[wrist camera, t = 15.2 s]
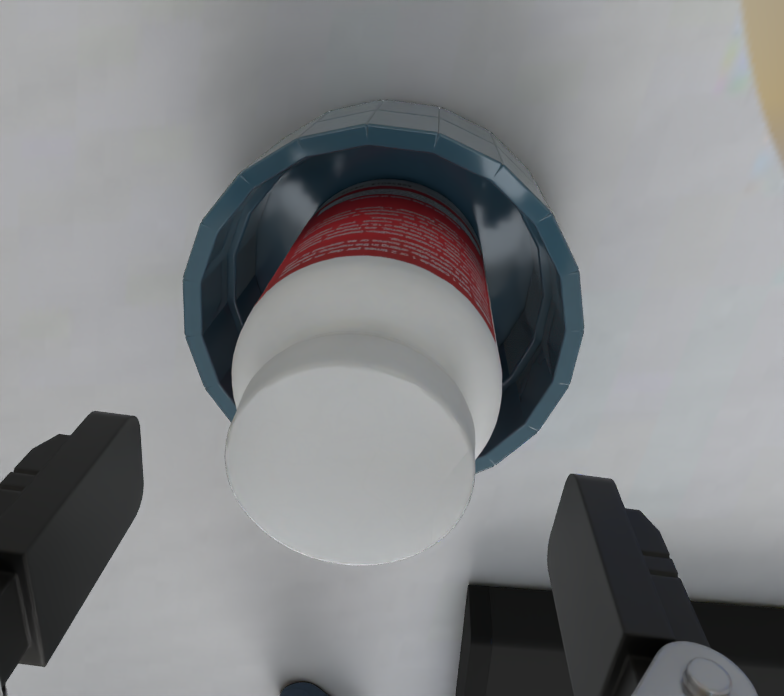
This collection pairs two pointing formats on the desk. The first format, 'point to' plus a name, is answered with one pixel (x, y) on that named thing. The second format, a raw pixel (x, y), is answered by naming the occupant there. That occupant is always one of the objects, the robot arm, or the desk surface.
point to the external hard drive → (547, 655)
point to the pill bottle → (367, 379)
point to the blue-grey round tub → (418, 165)
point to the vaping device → (302, 690)
